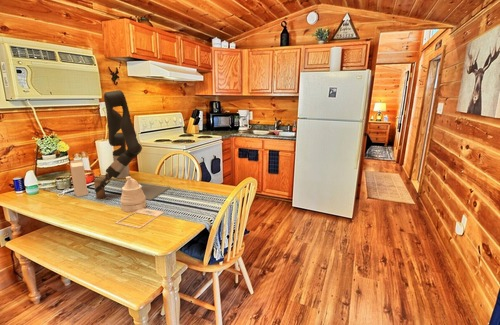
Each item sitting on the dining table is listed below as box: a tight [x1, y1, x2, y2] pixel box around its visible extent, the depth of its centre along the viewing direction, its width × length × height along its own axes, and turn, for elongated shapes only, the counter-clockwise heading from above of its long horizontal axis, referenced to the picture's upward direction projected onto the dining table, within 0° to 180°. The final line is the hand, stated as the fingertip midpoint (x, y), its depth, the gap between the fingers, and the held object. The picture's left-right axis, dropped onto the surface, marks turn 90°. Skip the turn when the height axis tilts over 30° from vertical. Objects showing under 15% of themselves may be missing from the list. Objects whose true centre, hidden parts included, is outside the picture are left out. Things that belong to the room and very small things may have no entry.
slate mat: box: [141, 184, 171, 201], centre depth 164 cm, size 22×18×1 cm
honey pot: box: [119, 175, 147, 213], centre depth 141 cm, size 13×13×18 cm
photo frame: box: [114, 207, 165, 229], centre depth 130 cm, size 15×1×18 cm
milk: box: [69, 159, 89, 198], centre depth 157 cm, size 6×6×22 cm
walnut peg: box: [93, 178, 106, 199], centre depth 154 cm, size 5×5×11 cm
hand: (96, 190), depth 154 cm, fingers closed on walnut peg, 4 cm apart
